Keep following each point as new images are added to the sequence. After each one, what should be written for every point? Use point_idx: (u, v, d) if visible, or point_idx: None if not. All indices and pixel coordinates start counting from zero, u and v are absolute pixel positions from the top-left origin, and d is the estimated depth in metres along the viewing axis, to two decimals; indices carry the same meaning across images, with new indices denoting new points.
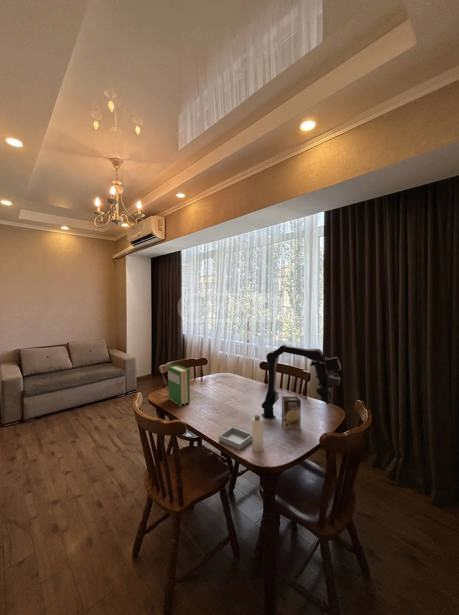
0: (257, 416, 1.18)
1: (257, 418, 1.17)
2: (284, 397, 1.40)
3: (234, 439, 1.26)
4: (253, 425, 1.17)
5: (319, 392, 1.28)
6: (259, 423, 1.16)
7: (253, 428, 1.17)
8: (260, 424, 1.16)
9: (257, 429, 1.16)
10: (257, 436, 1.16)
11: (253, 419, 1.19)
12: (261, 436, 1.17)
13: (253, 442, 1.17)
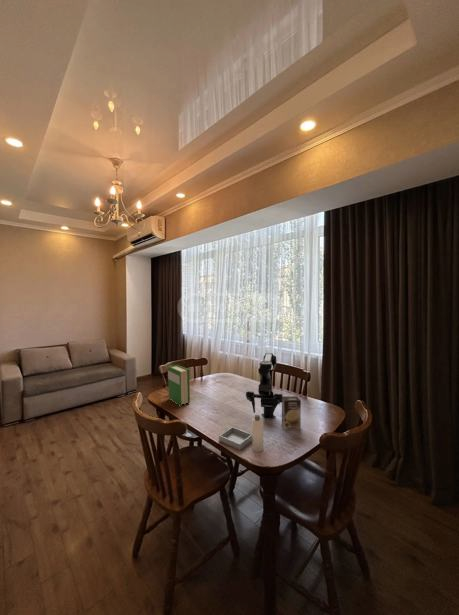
0: (257, 416, 1.18)
1: (257, 418, 1.17)
2: (284, 397, 1.40)
3: (234, 439, 1.26)
4: (253, 425, 1.17)
5: (247, 397, 1.34)
6: (259, 423, 1.16)
7: (253, 428, 1.17)
8: (260, 424, 1.16)
9: (257, 429, 1.16)
10: (257, 436, 1.16)
11: (253, 419, 1.19)
12: (261, 436, 1.17)
13: (253, 442, 1.17)
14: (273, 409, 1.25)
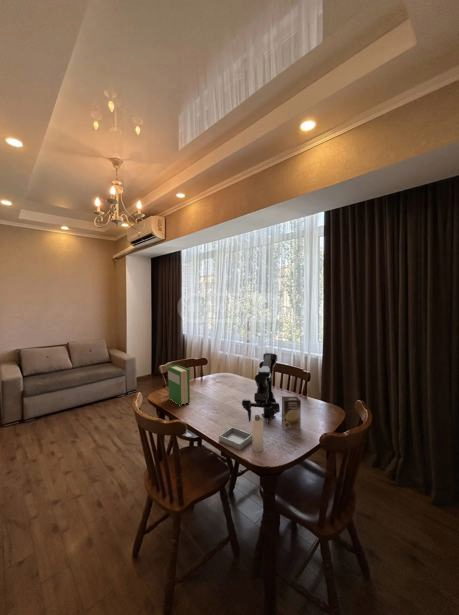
0: (257, 416, 1.18)
1: (257, 418, 1.17)
2: (284, 397, 1.40)
3: (234, 439, 1.26)
4: (253, 425, 1.17)
5: None
6: (259, 423, 1.16)
7: (253, 428, 1.17)
8: (260, 424, 1.16)
9: (257, 429, 1.16)
10: (257, 436, 1.16)
11: (253, 419, 1.19)
12: (261, 436, 1.17)
13: (253, 442, 1.17)
14: (269, 419, 1.21)
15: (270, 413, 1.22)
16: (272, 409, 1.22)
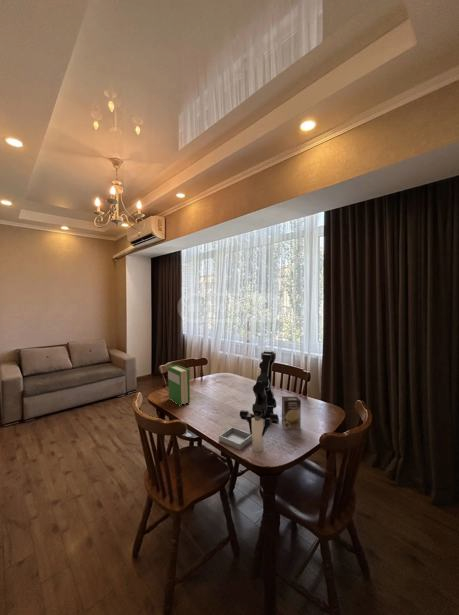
0: (257, 416, 1.18)
1: (257, 418, 1.17)
2: (284, 397, 1.40)
3: (234, 439, 1.26)
4: (253, 425, 1.17)
5: None
6: (259, 423, 1.16)
7: (253, 428, 1.17)
8: (260, 424, 1.16)
9: (257, 429, 1.16)
10: (257, 436, 1.16)
11: (253, 419, 1.19)
12: (261, 436, 1.17)
13: (253, 442, 1.17)
14: (264, 431, 1.17)
15: (265, 424, 1.18)
16: (267, 420, 1.18)
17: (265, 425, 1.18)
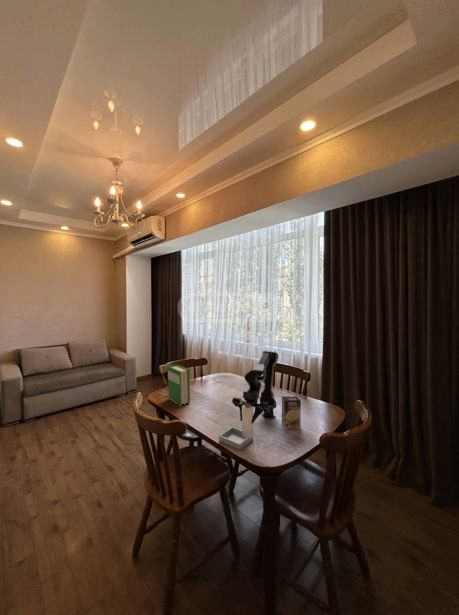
0: (247, 403, 1.20)
1: (247, 405, 1.20)
2: (284, 397, 1.40)
3: (234, 439, 1.26)
4: (243, 412, 1.19)
5: None
6: (248, 410, 1.18)
7: (243, 415, 1.20)
8: (249, 411, 1.18)
9: (246, 415, 1.18)
10: (246, 423, 1.18)
11: (243, 406, 1.21)
12: (250, 423, 1.19)
13: (243, 428, 1.20)
14: (253, 418, 1.19)
15: (255, 412, 1.20)
16: (257, 408, 1.20)
17: (255, 413, 1.20)
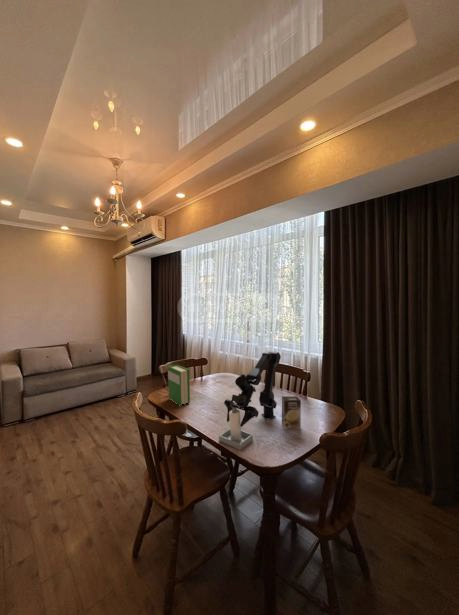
0: (234, 409, 1.25)
1: (233, 411, 1.24)
2: (284, 397, 1.40)
3: None
4: (229, 417, 1.25)
5: None
6: (234, 415, 1.23)
7: (229, 418, 1.25)
8: (235, 417, 1.23)
9: (232, 420, 1.23)
10: (232, 428, 1.23)
11: (231, 411, 1.26)
12: (237, 428, 1.23)
13: (230, 432, 1.25)
14: (242, 422, 1.22)
15: (244, 416, 1.23)
16: (246, 412, 1.23)
17: (244, 417, 1.23)
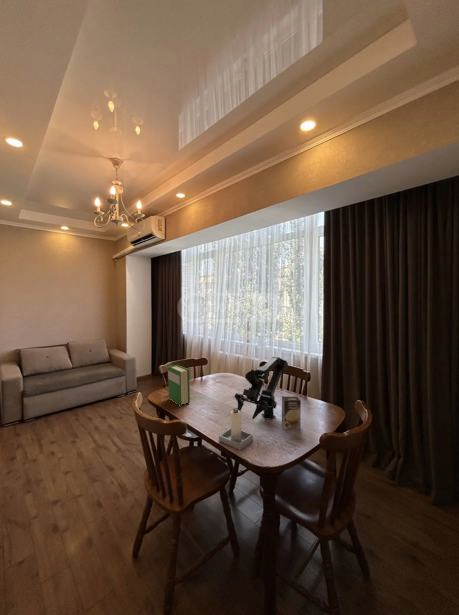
0: (235, 409, 1.25)
1: (234, 411, 1.24)
2: (284, 397, 1.40)
3: None
4: (230, 417, 1.25)
5: None
6: (235, 415, 1.23)
7: (230, 419, 1.25)
8: (236, 417, 1.23)
9: (233, 421, 1.23)
10: (233, 428, 1.23)
11: (232, 411, 1.26)
12: (237, 428, 1.23)
13: (231, 432, 1.25)
14: (254, 414, 1.29)
15: (256, 409, 1.30)
16: (258, 406, 1.30)
17: (256, 410, 1.30)
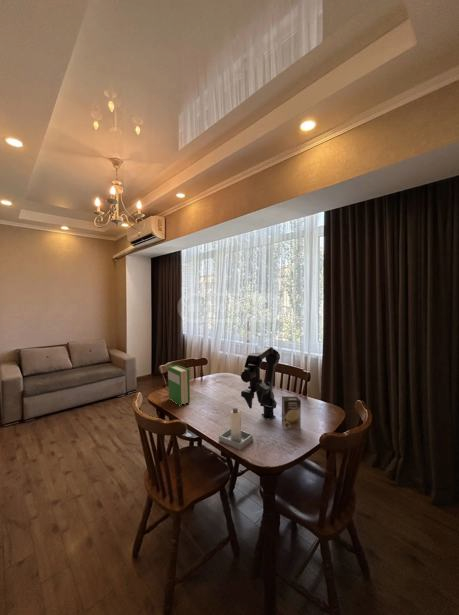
0: (235, 409, 1.25)
1: (234, 411, 1.24)
2: (284, 397, 1.40)
3: None
4: (230, 416, 1.25)
5: (242, 395, 1.30)
6: (235, 415, 1.23)
7: (230, 419, 1.25)
8: (236, 416, 1.23)
9: (233, 420, 1.23)
10: (233, 428, 1.23)
11: (232, 411, 1.26)
12: (237, 428, 1.23)
13: (231, 432, 1.25)
14: (261, 399, 1.40)
15: (262, 394, 1.40)
16: None
17: (262, 394, 1.40)
